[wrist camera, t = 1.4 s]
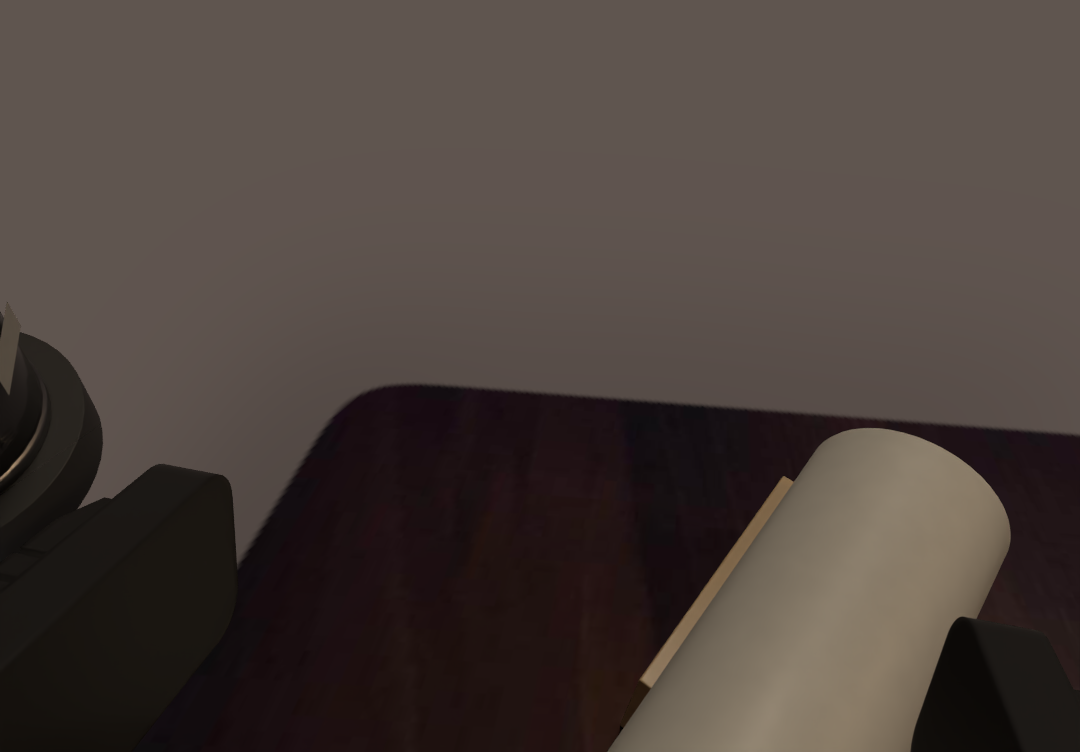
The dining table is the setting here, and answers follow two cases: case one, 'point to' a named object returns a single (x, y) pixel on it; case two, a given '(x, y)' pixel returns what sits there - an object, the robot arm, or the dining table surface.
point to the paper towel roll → (834, 607)
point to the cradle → (705, 598)
